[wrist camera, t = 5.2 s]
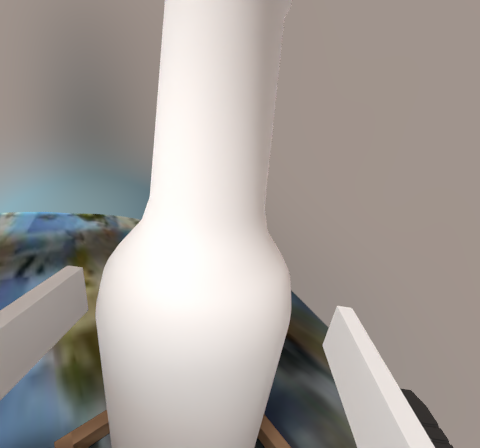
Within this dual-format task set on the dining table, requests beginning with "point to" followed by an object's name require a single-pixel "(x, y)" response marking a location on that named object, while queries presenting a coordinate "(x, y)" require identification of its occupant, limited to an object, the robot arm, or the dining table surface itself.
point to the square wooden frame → (90, 432)
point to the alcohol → (201, 242)
